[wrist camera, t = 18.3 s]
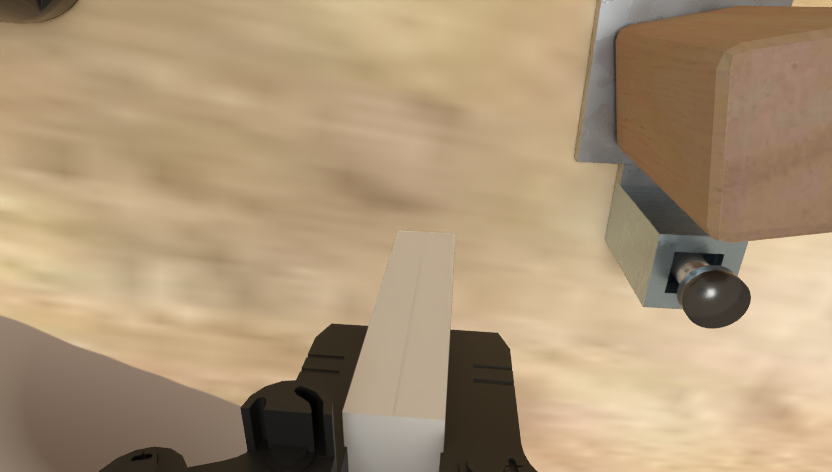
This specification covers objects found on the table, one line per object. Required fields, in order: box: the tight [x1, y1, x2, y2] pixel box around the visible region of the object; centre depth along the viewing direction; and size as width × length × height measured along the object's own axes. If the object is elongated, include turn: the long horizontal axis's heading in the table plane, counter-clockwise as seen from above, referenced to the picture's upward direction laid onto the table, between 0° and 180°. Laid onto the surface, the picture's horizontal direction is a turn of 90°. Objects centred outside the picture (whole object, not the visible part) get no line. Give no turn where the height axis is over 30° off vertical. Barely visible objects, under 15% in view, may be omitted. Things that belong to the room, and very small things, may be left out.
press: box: [574, 0, 793, 309], centre depth 39 cm, size 14×22×12 cm, turn 179°
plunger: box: [670, 252, 751, 328], centre depth 38 cm, size 4×4×10 cm
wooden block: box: [616, 6, 832, 243], centre depth 33 cm, size 10×10×20 cm
